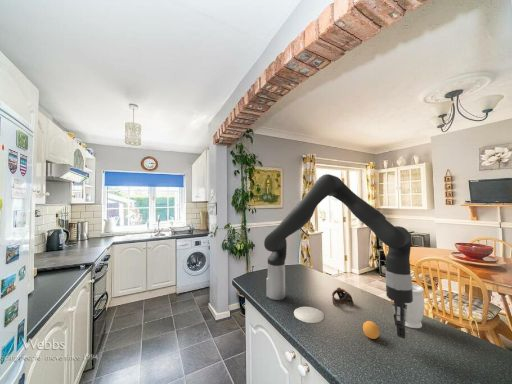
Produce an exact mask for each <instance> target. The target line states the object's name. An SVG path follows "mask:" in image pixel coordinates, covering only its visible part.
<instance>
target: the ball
mask: <svg viewBox="0 0 512 384" xmlns="http://www.w3.org/2000/svg"><path fill="white" fill-rule="evenodd" d="M362 330H363V333H364V335H365V336H366V337H367V338H369V339H373V340H374V339H375V340H376V339H378V337H379V336H380V333H381V331H380V328H379V326H378V325H377V324H376V323H375V322H373V321H371V320H366V321H365V322H364V323H363V325H362Z"/></svg>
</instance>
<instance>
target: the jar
mask: <svg viewBox="0 0 512 384" xmlns="http://www.w3.org/2000/svg"><path fill="white" fill-rule="evenodd" d="M412 292H413V301H412V302H411V303H405V304H406V305H407V318H406V322H405V323H406V324H405V327H408V328H411V329H421V328H422V327H423V323H422V320H423V318H424V312H425V297H424V295H423V293H424V288H423V287H422V286H421V285H418V284H416V283H413V282H412Z"/></svg>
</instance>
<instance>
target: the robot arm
mask: <svg viewBox="0 0 512 384" xmlns="http://www.w3.org/2000/svg"><path fill="white" fill-rule="evenodd" d="M328 196H329V197H333V198H335V199H337V200H338V201H340V202H341V203H342V204H344V205H345V206H346V207H347V209H349V211H350V212H351V213H352V215H354V217H355V218H357V219H358V220H359V221H360V222H362V223H363V224H364V225H365V226H366V227H367V228H369V229H370V230H371V231H372V233H374V235H375V236H376V237H377V239H379V240H380V242H382V243H383V244H384V245H386V246H387V247H388V251H387V254H386V255H385V289H386V290H385V294H386V297H387V298H388V299H389V300H392V307H391V308H392V311H393V320H394V325H395V327H396V335H397V337H398V338H401V339H405V338H406V326H405V324H406V323H405V322H406V318H407V305H406V304H405V303H411V302H412V301H413V292H412V283H413V279H412V275H411V261H410V257H411V256H410V255H411V247H412V238H411V235H410V232H409V231H408V229H406V228H405V227H403V226H398V225H393V224H392V223H391V222H390V221H388V220H387V218H386V216H385V214H383V213H381V212H380V211H379V210H378V209H376V208H375V207H374V206H372V205H370V204H369V202H367V201H365V200H364V199H363V198H361V197H360V196H359V195H357V194H356V193H355V192H353V190H351V189H350V187H348V185H346V184H345V183H344V181H343V180H341V178H340V177H338V176H336V175H334V174H330V173H329V174H328V173H326V174H323V175H321V176H320V177H318V179H316V181H315V183H314V184H313V186H312V187H311V188H310V189H309V190H308V192H307V193H306V194H305V196H304V197H303V198H302V199H301V200H300V201H299V202H298V203H297V204H296V205H295V206H294V208H292V210H290V212H289V213H288V214H287V215H286V216H285V218H283V220H282V221H281V222H280V224H278V226H277V227H275V229H273V230H272V231H271V232H270V233H269V234H267V235H266V237H265V238H264V241H263V244H264V248H265V250H266V251H268V252H271V253H270V255H269V256H268V258H267V277H266V282H265V283H266V285H265V287H266V290H265V291H266V292H265V293H266V295H265V296H266V298H269V299H270V300H274V301H281V300H284V299H285V297H286V267H285V266H286V264H285V263H286V259H287V246H288V244H287V238H288V237H289V236H291V235H293V234H294V233H296V232H297V231H299V230H300V229H302V228H303V227H304V226H305V225H306V224H307V223H309V221H310V220H311V219H312V217H313V215H314V213H315V210H316V208H317V207H318V206H319V204H320V203H321V202H322V201H324V199H326V198H327V197H328Z"/></svg>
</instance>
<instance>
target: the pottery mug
mask: <svg viewBox="0 0 512 384" xmlns="http://www.w3.org/2000/svg"><path fill="white" fill-rule="evenodd" d="M335 294H337V296H338V298H336V297H335ZM331 296H332V298H331V301H332V304H333V305H337V306H340V305H348V302H349V303H351V304H352V306H353V307H355V303H354V300H353V297H352V294H350V293H349V292H348V291H346V290H345V289H344V288H341V287H337V288H336V289H334V290H333V292H332V294H331Z"/></svg>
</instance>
